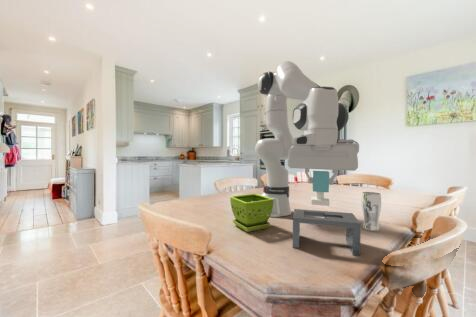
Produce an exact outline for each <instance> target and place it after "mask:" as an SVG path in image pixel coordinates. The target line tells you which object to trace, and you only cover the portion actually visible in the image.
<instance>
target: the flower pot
mask: <svg viewBox="0 0 476 317" xmlns="http://www.w3.org/2000/svg"><path fill="white" fill-rule="evenodd" d="M229 201H230V207H231V212H232V214H233V216H234V219H232V223H234V225H235V226H236V227H238V228H240V229H242V230H243V231H245V232H246V233H249V232H253V231H259V230H265V229H267V228H269V226H271V223H270V222H269V219H270V218H271V217H270V215H271V212H272V208H273V199H271V198H268V197H265V196H262V195H261V194H260V193H259V194H257V193H249V194H247V193H246V194H239V195H238V194H237V195H232V196H230V197H229Z"/></svg>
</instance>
